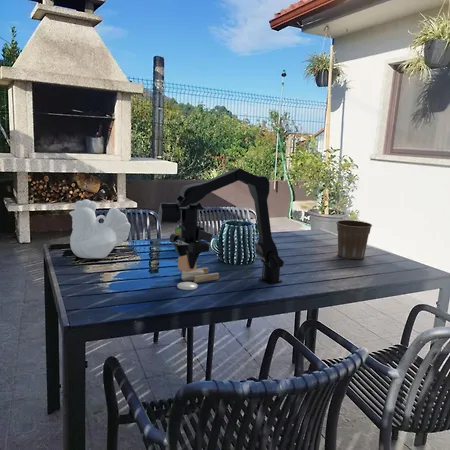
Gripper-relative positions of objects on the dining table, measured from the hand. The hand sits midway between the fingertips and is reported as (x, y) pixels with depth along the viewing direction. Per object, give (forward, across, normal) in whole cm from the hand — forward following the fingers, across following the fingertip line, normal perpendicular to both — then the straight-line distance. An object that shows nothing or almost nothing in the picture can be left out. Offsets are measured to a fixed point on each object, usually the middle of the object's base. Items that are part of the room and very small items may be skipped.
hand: (188, 266), depth 148 cm
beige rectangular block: (+8, +7, -6) cm, 12 cm away
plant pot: (+8, +6, -90) cm, 91 cm away
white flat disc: (+7, 0, 0) cm, 7 cm away
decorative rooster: (+7, +49, +16) cm, 52 cm away
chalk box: (+8, +46, -23) cm, 52 cm away
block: (+1, 0, 0) cm, 1 cm away
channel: (+7, +7, -9) cm, 14 cm away
